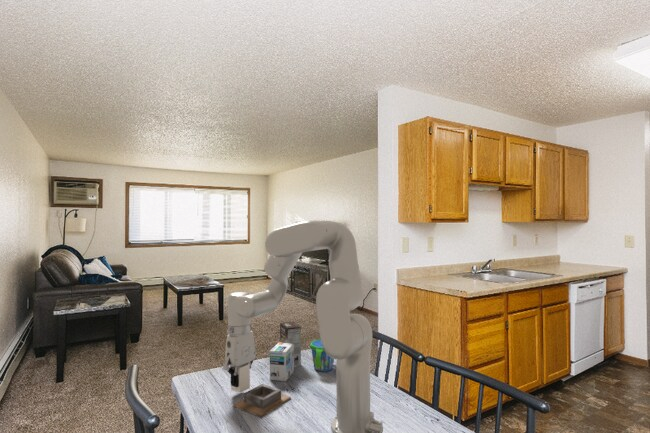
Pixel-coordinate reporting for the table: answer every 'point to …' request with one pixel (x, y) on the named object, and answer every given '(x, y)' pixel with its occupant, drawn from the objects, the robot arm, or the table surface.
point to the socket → (261, 400)
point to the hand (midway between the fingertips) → (240, 382)
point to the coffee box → (292, 338)
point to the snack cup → (320, 357)
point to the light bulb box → (281, 361)
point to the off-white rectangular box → (242, 378)
